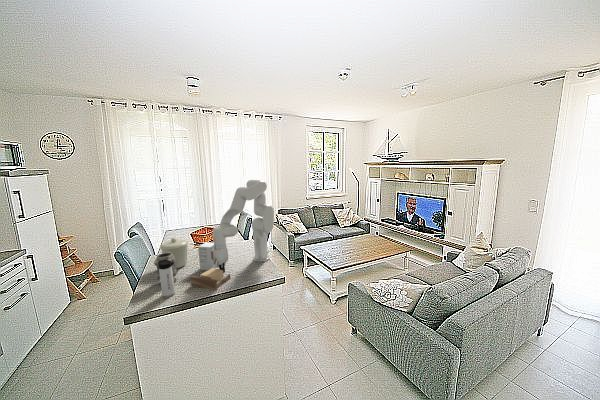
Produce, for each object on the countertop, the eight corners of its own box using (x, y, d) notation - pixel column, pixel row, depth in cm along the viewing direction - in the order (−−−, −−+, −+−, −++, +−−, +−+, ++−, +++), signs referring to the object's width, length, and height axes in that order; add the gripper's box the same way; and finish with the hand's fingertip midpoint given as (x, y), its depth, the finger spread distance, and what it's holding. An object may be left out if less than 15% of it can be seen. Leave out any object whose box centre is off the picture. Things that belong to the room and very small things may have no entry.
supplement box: (211, 270, 163) (209, 247, 161) (199, 270, 165) (197, 246, 163) (219, 264, 173) (217, 242, 170) (207, 264, 175) (205, 242, 172)
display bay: (208, 274, 158) (208, 265, 157) (231, 278, 152) (231, 269, 151) (191, 286, 144) (190, 276, 143) (215, 290, 138) (214, 281, 137)
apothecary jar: (178, 275, 158) (175, 249, 155) (178, 283, 147) (175, 256, 144) (157, 280, 152) (153, 253, 149) (155, 289, 142) (152, 260, 139)
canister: (165, 274, 160) (162, 244, 157) (159, 265, 174) (156, 237, 170) (194, 265, 172) (191, 237, 169) (186, 258, 185) (183, 232, 182)
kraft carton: (213, 275, 158) (212, 267, 157) (223, 277, 154) (222, 270, 153) (201, 282, 149) (200, 274, 148) (212, 284, 145) (211, 277, 144)
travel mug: (165, 292, 138) (160, 259, 134) (176, 291, 138) (172, 258, 135) (159, 298, 132) (155, 264, 128) (172, 297, 132) (167, 263, 129)
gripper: (222, 241, 162) (224, 267, 165) (207, 249, 149) (209, 277, 152) (232, 242, 160) (234, 268, 163) (217, 250, 146) (219, 278, 149)
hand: (222, 272), depth 157 cm, fingers closed
